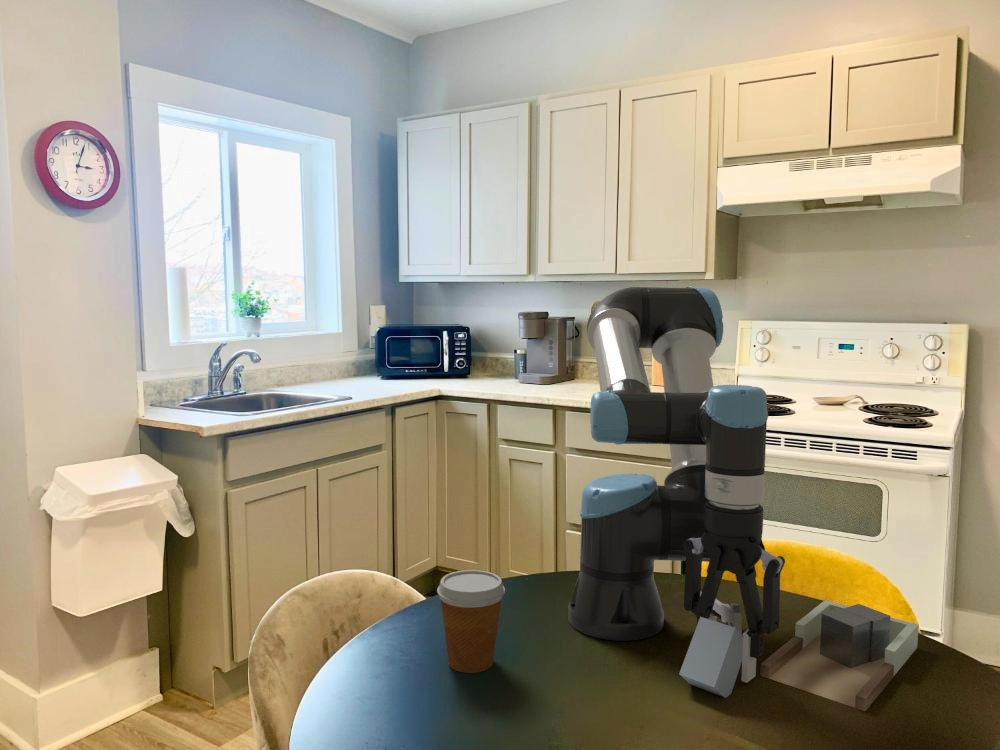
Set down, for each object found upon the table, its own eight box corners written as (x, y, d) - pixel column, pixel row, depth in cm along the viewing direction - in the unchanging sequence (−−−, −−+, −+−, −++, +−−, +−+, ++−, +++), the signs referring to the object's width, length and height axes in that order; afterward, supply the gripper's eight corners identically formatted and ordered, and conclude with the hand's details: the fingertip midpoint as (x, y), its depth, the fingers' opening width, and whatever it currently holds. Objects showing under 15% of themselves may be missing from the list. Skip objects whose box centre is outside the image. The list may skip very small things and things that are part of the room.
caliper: (741, 649, 113) (743, 608, 113) (734, 649, 113) (735, 608, 113) (703, 597, 134) (705, 562, 133) (697, 596, 134) (698, 562, 133)
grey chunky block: (839, 648, 111) (841, 608, 111) (856, 642, 113) (858, 603, 113) (871, 662, 107) (873, 621, 107) (888, 656, 109) (890, 615, 109)
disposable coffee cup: (423, 663, 108) (423, 580, 107) (471, 641, 115) (471, 564, 114) (470, 686, 101) (471, 599, 100) (518, 662, 108) (519, 580, 107)
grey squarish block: (819, 654, 110) (821, 613, 109) (837, 648, 112) (839, 608, 111) (850, 668, 105) (852, 626, 105) (869, 662, 107) (871, 620, 107)
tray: (794, 646, 112) (795, 623, 112) (823, 621, 121) (824, 600, 121) (893, 676, 103) (894, 651, 103) (917, 647, 112) (918, 624, 112)
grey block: (679, 674, 98) (700, 616, 102) (693, 687, 101) (714, 631, 105) (714, 687, 95) (735, 627, 98) (728, 700, 98) (748, 642, 101)
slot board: (760, 680, 103) (760, 663, 103) (823, 626, 121) (824, 611, 121) (864, 717, 94) (865, 698, 94) (916, 652, 112) (917, 637, 112)
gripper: (658, 495, 104) (654, 659, 106) (790, 521, 92) (783, 705, 94) (685, 486, 110) (681, 642, 112) (813, 509, 98) (806, 683, 100)
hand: (728, 671), depth 103 cm, fingers closed on grey block, 5 cm apart
